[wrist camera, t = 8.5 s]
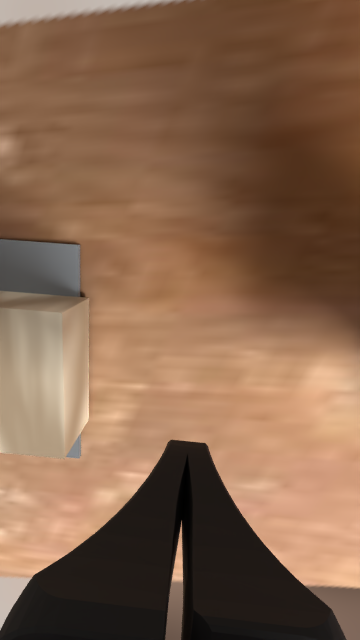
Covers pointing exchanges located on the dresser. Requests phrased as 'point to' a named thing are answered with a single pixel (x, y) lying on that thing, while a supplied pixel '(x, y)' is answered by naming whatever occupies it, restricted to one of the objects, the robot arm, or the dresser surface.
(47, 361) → the birch block
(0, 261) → the mat
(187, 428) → the dresser surface
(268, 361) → the dresser surface
